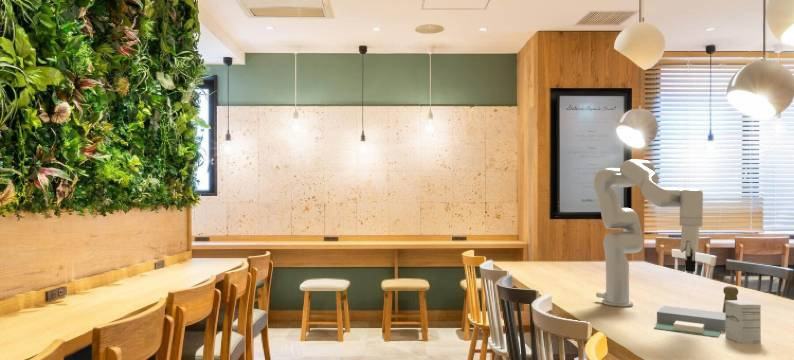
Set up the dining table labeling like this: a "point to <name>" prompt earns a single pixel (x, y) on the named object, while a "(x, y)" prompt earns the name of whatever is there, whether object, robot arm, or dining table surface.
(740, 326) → the supplement box
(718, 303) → the dining table surface
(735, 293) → the cork
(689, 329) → the card
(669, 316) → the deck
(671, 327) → the mat
